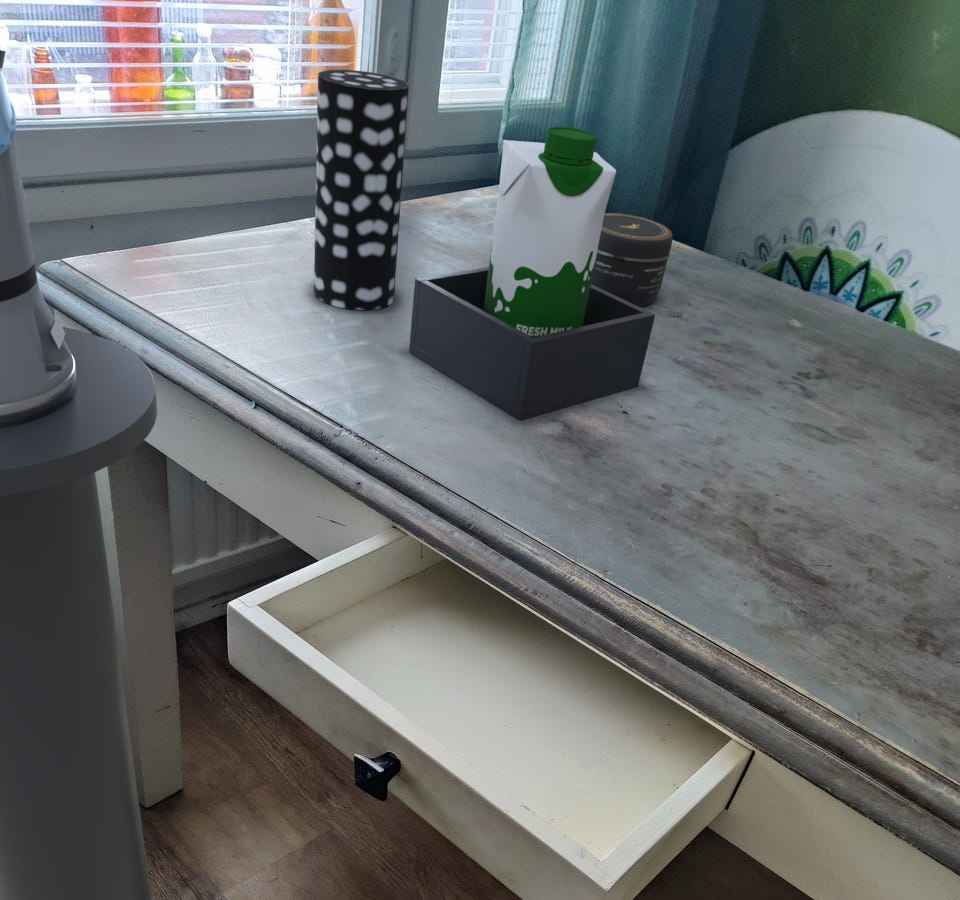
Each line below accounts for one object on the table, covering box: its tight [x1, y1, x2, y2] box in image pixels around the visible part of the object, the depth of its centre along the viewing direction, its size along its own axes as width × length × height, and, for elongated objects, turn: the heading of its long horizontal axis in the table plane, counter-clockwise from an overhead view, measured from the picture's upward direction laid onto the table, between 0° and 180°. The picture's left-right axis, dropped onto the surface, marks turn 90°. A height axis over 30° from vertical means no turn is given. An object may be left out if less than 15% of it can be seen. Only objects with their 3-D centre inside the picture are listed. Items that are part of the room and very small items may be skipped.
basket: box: [408, 266, 656, 421], centre depth 91 cm, size 16×16×7 cm
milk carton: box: [484, 126, 617, 338], centre depth 87 cm, size 9×9×20 cm
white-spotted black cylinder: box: [313, 69, 410, 311], centre depth 97 cm, size 8×8×20 cm
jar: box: [591, 212, 674, 308], centre depth 111 cm, size 10×10×8 cm
